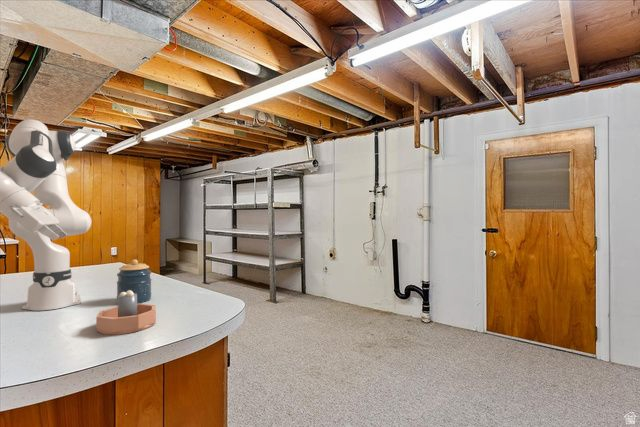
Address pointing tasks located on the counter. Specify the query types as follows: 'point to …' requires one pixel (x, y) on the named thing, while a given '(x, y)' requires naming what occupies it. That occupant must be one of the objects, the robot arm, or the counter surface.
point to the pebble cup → (127, 304)
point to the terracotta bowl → (125, 320)
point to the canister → (135, 280)
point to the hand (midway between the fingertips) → (61, 237)
